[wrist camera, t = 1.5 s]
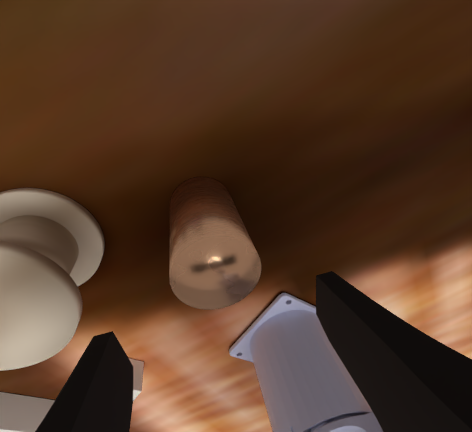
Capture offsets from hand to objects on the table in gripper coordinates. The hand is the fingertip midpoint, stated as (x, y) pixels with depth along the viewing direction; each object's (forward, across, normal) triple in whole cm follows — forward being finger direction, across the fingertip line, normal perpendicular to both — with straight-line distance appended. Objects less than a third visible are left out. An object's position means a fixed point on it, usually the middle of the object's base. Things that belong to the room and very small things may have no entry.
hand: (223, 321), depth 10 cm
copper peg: (+10, 0, 0) cm, 10 cm away
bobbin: (+10, +10, 0) cm, 14 cm away
